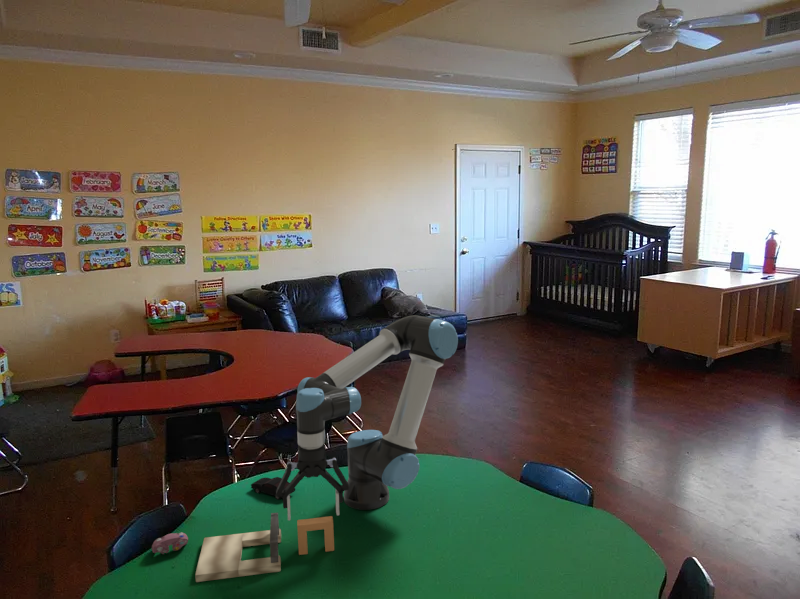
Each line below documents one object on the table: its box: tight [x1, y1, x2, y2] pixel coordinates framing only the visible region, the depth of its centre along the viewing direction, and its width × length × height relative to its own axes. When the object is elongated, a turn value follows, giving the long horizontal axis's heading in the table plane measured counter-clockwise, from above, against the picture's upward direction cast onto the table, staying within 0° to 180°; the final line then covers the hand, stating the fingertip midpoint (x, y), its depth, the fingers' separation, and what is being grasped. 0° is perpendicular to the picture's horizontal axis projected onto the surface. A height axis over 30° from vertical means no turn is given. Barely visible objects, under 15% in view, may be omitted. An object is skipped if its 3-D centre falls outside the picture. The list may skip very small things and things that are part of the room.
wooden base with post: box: [195, 512, 282, 583], centre depth 167 cm, size 22×18×8 cm
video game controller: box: [151, 531, 189, 555], centre depth 170 cm, size 10×5×7 cm, turn 118°
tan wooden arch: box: [296, 515, 335, 556], centre depth 170 cm, size 10×3×9 cm, turn 101°
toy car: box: [250, 476, 296, 501], centre depth 204 cm, size 7×16×5 cm, turn 60°
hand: (313, 515), depth 168 cm, fingers open, 13 cm apart
